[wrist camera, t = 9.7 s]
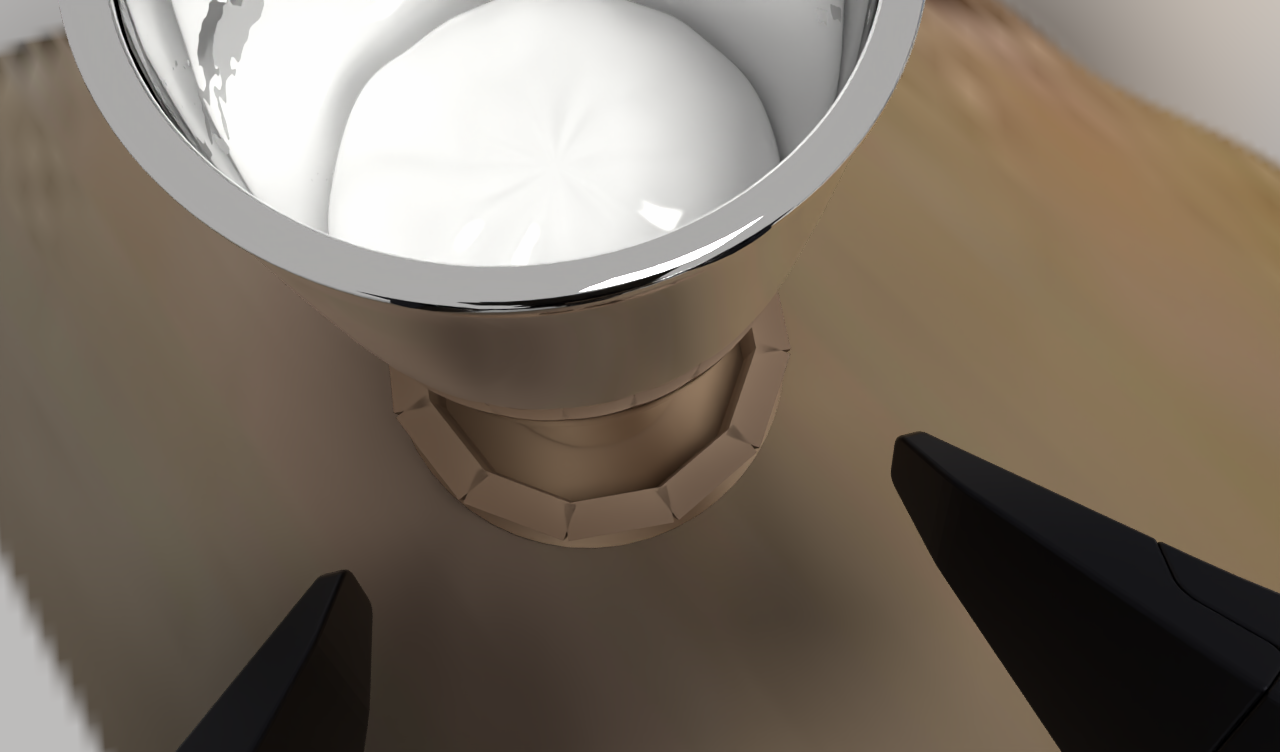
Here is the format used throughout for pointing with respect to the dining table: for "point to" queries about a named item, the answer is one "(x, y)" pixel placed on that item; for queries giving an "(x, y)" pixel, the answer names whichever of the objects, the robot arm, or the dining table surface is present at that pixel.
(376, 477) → the dining table surface
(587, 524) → the faceted bowl
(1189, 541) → the dining table surface
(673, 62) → the beer glass
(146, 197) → the dining table surface
